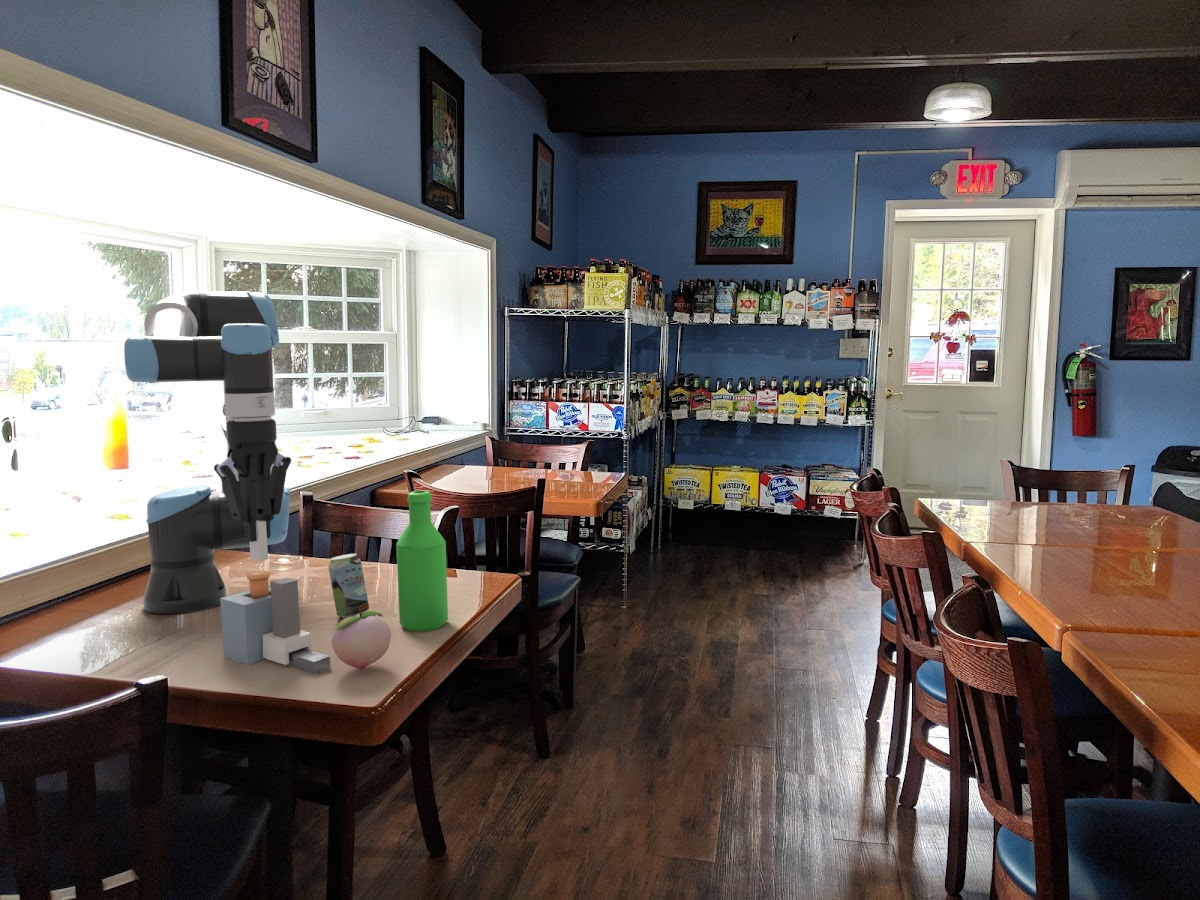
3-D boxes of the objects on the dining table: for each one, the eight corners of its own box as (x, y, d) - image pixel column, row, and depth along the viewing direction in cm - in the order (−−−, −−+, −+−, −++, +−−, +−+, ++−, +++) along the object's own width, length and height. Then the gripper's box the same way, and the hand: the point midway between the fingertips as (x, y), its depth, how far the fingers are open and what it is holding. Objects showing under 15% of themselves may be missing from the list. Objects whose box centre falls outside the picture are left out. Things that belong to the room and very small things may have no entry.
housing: (223, 656, 143) (220, 598, 142) (276, 639, 151) (273, 584, 150) (248, 664, 139) (244, 605, 138) (301, 647, 147) (298, 590, 146)
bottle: (431, 635, 152) (427, 497, 149) (390, 630, 155) (384, 494, 152) (456, 620, 161) (452, 489, 158) (416, 615, 164) (412, 487, 161)
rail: (269, 659, 141) (268, 647, 141) (285, 653, 144) (284, 642, 144) (314, 674, 134) (314, 662, 134) (330, 668, 137) (329, 656, 137)
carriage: (263, 657, 140) (258, 581, 139) (290, 648, 145) (286, 574, 143) (285, 665, 137) (280, 587, 135) (312, 655, 141) (308, 579, 140)
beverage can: (360, 622, 160) (357, 559, 159) (324, 620, 162) (321, 558, 160) (375, 612, 166) (372, 551, 165) (340, 610, 168) (337, 550, 166)
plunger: (244, 603, 143) (242, 574, 143) (263, 598, 146) (261, 569, 146) (256, 606, 141) (255, 577, 141) (276, 601, 144) (274, 572, 144)
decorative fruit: (367, 683, 130) (364, 620, 129) (324, 676, 133) (321, 614, 132) (403, 663, 139) (401, 603, 138) (362, 656, 142) (360, 598, 141)
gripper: (227, 423, 133) (236, 571, 136) (299, 416, 143) (306, 554, 146) (200, 420, 137) (210, 564, 140) (272, 414, 147) (279, 548, 150)
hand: (259, 558), depth 143 cm, fingers closed
